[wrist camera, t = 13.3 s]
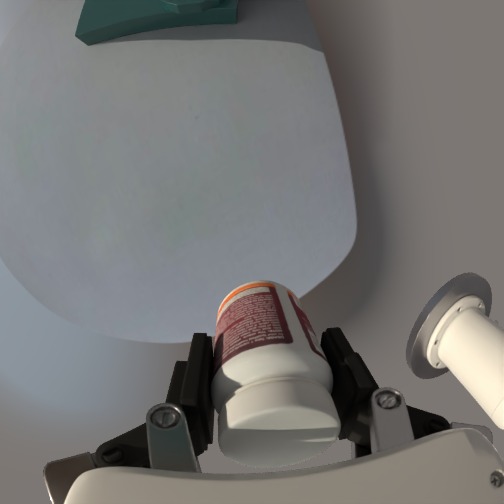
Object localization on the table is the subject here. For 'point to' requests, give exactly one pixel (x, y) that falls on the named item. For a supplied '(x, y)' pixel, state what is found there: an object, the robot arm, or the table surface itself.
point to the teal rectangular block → (148, 16)
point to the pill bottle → (270, 380)
